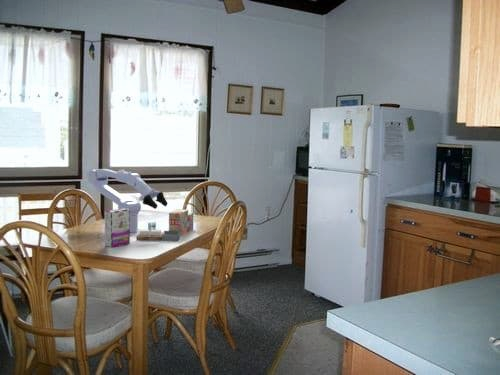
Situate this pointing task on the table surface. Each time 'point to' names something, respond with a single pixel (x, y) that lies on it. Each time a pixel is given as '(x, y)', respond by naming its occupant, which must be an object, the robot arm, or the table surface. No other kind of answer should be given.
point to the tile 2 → (156, 232)
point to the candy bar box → (117, 227)
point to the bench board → (149, 237)
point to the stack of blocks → (180, 221)
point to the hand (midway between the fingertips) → (161, 206)
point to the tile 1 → (144, 232)
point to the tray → (171, 236)
